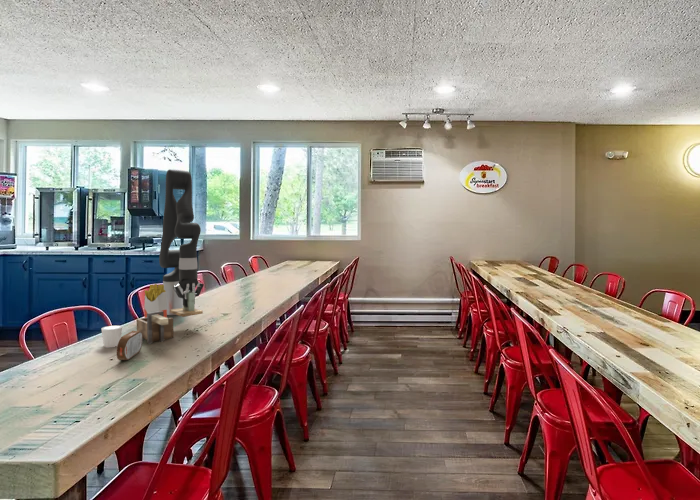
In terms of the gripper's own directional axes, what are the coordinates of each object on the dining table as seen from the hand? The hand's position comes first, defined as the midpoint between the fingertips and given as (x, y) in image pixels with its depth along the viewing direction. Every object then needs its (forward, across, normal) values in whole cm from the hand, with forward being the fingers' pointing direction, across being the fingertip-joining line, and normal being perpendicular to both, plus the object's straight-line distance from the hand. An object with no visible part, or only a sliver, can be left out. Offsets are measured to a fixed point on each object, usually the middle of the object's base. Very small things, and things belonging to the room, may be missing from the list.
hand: (189, 306), depth 177 cm
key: (+2, -18, -13) cm, 22 cm away
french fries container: (+10, -5, +23) cm, 26 cm away
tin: (+11, -31, -20) cm, 38 cm away
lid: (+3, -1, 0) cm, 3 cm away
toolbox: (+10, -16, -2) cm, 19 cm away
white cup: (+10, -31, -1) cm, 33 cm away
